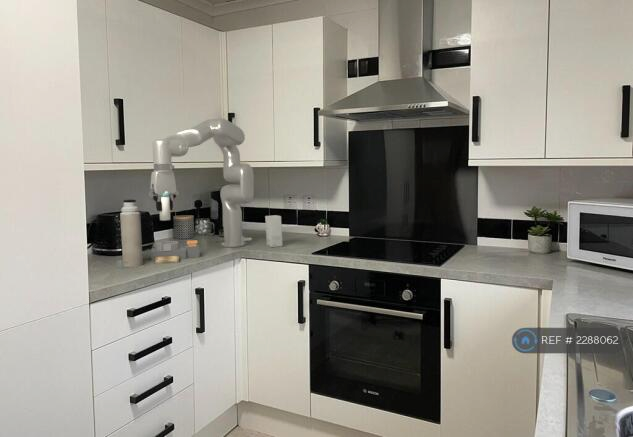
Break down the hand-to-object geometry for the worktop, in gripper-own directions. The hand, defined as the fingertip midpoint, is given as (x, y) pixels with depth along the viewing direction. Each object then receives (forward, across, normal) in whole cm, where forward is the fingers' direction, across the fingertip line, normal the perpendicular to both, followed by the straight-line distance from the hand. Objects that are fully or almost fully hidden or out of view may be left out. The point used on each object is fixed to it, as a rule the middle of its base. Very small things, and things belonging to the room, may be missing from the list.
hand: (164, 210), depth 221 cm
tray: (+23, 0, 0) cm, 23 cm away
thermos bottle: (+23, +14, -4) cm, 27 cm away
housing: (+23, -8, -6) cm, 25 cm away
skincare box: (+23, -58, +4) cm, 62 cm away
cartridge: (+4, 0, 0) cm, 4 cm away
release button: (+22, -14, -2) cm, 26 cm away
